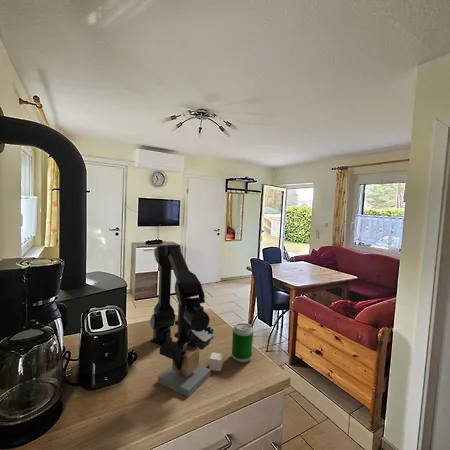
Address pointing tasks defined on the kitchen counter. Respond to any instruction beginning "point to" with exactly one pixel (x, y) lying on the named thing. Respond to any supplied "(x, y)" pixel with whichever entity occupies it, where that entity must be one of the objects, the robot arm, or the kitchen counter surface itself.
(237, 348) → the soda can
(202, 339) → the robot arm
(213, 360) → the pale stone block
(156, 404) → the kitchen counter surface
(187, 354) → the walnut cube
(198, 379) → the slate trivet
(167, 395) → the kitchen counter surface
